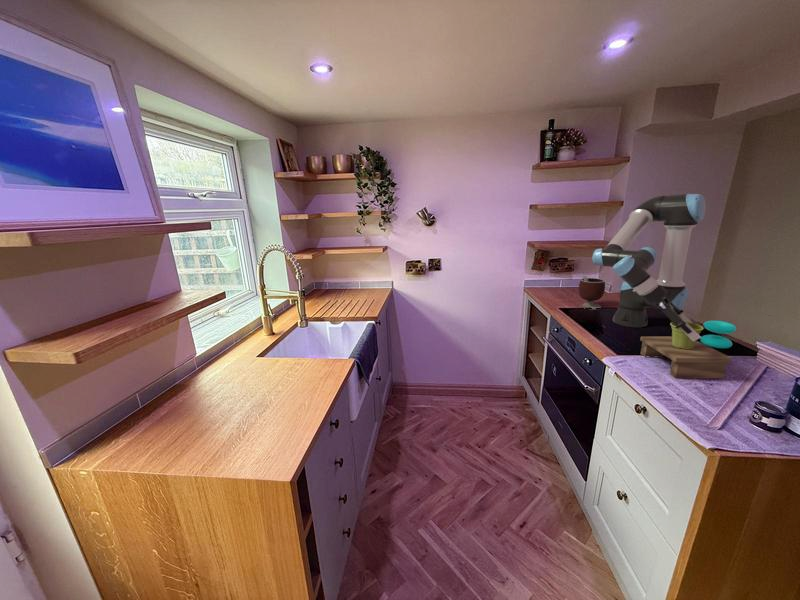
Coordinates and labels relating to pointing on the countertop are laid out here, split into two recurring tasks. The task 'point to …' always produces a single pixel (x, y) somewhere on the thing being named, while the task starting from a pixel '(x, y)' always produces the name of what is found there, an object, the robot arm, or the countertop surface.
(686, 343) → the plant pot
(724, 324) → the donuts
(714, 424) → the countertop surface
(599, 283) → the mate gourd
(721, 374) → the walnut shelf stand
